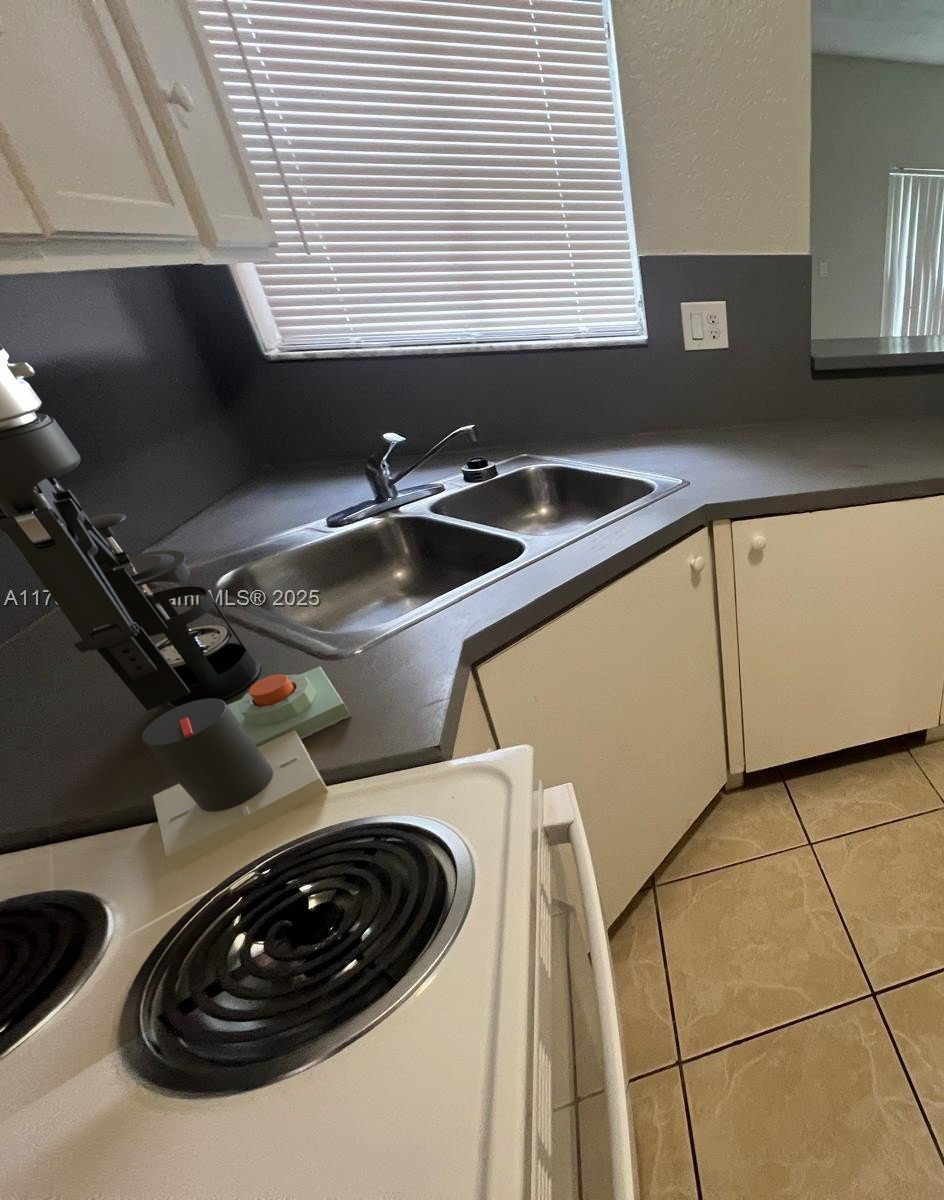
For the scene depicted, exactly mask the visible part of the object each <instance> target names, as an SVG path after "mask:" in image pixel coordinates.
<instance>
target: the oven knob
mask: <svg viewBox="0 0 944 1200" xmlns="http://www.w3.org/2000/svg"><path fill="white" fill-rule="evenodd" d="M227 705H228V704H226V701H222V700H219V699H211V698H210V699H201V700H196V701H193V702H189V703H186V704H183V705H181V706H178V707H176V708H174V709H172V708H171V709H169V710H168V711H166V712H164V713H163V714H161V715H159V716H158V717H157V718H155V719H154V720H153V721H151V722H150V723H149V724H148V725H147V727H146V728H145V729H144V731H143V732H142V735H141V740H142V742H143V743H144V744H145V746H147V748H148V749H149V750H150V751H151V752H152V754H154V756H155V757H156V758H157V759H158V760H159V761H160V763H161V764H162V765H163V766H164V767H165V769H166V770H167V771H168V772H169V773H170V774H171V775H172V777H173V778H174V779H175V781H176V782H178V784H180V785H181V786H182V787H183V788H184V789H185V791H186V792H187V793H188V794H189V795H190V796H191V798H192V799H193V800H194V801H195V802H196V803H197V804H198V806H199V807H200V808H201V809H203V810H205V811H221V810H226V809H229V808H232V807H235V806H237V805H240V804H242V803H244V802H246V801H247V800H249V799H251V798H252V797H254V796H255V795H257V794H258V793H259V792H260V791H262V790H263V789H264V788H265V787H266V786H267V784H268V783H269V782H270V780H271V778H272V775H273V769H272V767H271V766H270V765H269V763H268V762H267V760H266V759H265V758H264V756H263V755H262V753H261V752H260V751H259V749H258V748H257V747H256V745H255V744H254V742H253V741H252V740H251V738H250V737H249V735H248V734H247V733H246V731H245V730H244V729H243V727H242V726H241V724H240V723H239V722H238V720H237V719H236V717H235V716H234V715H233V713H232V712H231V711H230V709H229V708H228V706H227Z"/></svg>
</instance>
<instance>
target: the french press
mask: <svg viewBox="0 0 944 1200" xmlns="http://www.w3.org/2000/svg"><path fill="white" fill-rule="evenodd" d="M126 518H127V516H126V515H125V514H122V513H107V514H102V515H97V516H93V517H90V518H88V519H89V521H90V522H91V524H92V525H93V526H94V527H95V528H96V530H97V531H98V532H99V533H100V534H101V536H102V537H103V538H104V539H108V541H109V542H110V544H111V545H112V547H113V548H114V550H115V551H116V553H120V552H123V551H124V550H122V548H121V547H120V546H119V544H118V543H117V542H116V540H115V539H114V538H113V537H114V536H115V533H114V531H113V529H112V528H111V527H113V526H116V525H118V524H120V523H122V522H123V521H125V520H126ZM128 557H129V559H130V560H131V562H132V563H129V564H125V565H122V566H118V567H115V570H118V569H121V568H125V570H126V571H127V572H128V574H129V575H130V577H131V578H132V579H133V581H134V582H135V583H136V585H137V586H138V587H142V588H143V589H144V592H142V593H143V594H144V596H145V597H146V598H147V600H148V601H149V603H150V604H151V605H152V607H153V608H154V609H155V611H156V612H157V614H158V615H159V616H160V618H161V619H162V620H163V622H164V623H165V624H166V626H167V628H168V630H165V631H162V632H159V633H156V634H153V635H151V636H149V637H150V638H151V637H155V636H158V635H161V634H164V635H165V637H164V638H163V639H161V640H159V641H158V642H156V643H154V644H155V645H156V647H157V648H158V649H159V651H160V652H161V653H162V655H163V656H164V657H165V658H166V660H167V661H168V662H169V664H170V665H171V666H172V668H173V669H174V670H175V672H176V673H177V674H178V676H179V677H180V678H181V680H182V681H183V682H184V684H185V685H186V686H187V687H188V689H189V691H190V694H188V695H186V696H183V697H181V698H178V699H176V700H173V701H171V702H168V703H166V704H167V706H168V707H169V708H170V709H171V710H172V709H174V708H176V707H178V706H181V705H183V704H186V703H189V702H193V701H196V700H201V699H210V698H211V699H219V700H222V701H224V702H226V701H228V700H230V699H233V698H234V697H236V696H238V695H240V694H242V693H243V692H245V691H246V690H247V689H250V688H251V686H252V685H253V684H255V683H256V682H257V681H258V679H259V677H260V676H261V673H262V667H261V665H260V663H259V662H258V661H257V660H254V658H253V657H252V655H251V654H250V652H249V651H248V649H247V647H246V646H245V644H244V643H243V642H242V640H241V639H240V637H239V635H238V634H237V632H236V631H235V629H234V628H233V626H232V624H231V623H230V622H229V620H228V618H227V617H226V615H225V614H224V613H223V611H222V609H221V608H220V607H219V605H218V603H217V601H216V600H215V598H214V597H213V595H212V594H211V592H210V591H209V590H208V588H206V587H204V586H201V585H181V586H175V587H170V588H166V589H162V588H161V587H156V588H154V589H153V588H152V589H150V588H149V586H148V585H147V584H151V583H161V582H162V583H183V582H185V581H187V580H188V579H189V578H190V576H191V571H190V570H189V568H188V567H187V565H186V561H187V556H186V554H185V553H184V552H182V551H180V550H172V549H169V550H168V549H167V550H166V549H165V550H155V551H150V552H143V553H140V554H135V555H132V556H128ZM191 596H201V597H203V599H202V600H201V601H200V602H198V603H197V604H196V605H194V606H193V607H190V608H189V609H188V610H186V611H184V612H182V613H180V612H179V610H177V609H176V607H175V605H174V604H173V603H172V601H171V600H173V599H178V598H183V597H191ZM213 607H214V608H216V610H217V612H218V613H219V615H220V616H221V617H222V619H223V621H224V622H225V624H226V625H224V624H220V623H215V624H214V623H213V624H203V625H199V626H194V627H190V626H189V624H190V623H192V622H194V621H197V620H198V619H199V618H201V617H203V616H204V615H206V614H207V613H208V612H209V611H210V610H211V609H212V608H213ZM112 624H115V623H110V624H107V625H106V626H109V625H112ZM232 635H233V636H234V638H235V639H236V641H237V642H230V641H231V639H232ZM228 667H229V668H228ZM223 668H228V669H227V670H225V671H223V672H222V673H218V672H217V671H216V670H220V669H223ZM196 679H197V680H198V682H197V683H194V684H191V682H193V681H194V680H196ZM188 684H191V685H188Z"/></svg>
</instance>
